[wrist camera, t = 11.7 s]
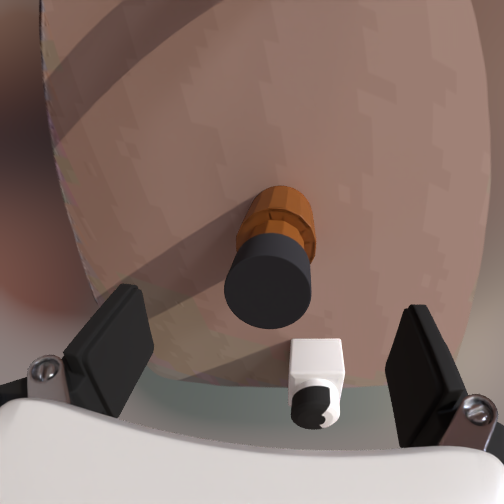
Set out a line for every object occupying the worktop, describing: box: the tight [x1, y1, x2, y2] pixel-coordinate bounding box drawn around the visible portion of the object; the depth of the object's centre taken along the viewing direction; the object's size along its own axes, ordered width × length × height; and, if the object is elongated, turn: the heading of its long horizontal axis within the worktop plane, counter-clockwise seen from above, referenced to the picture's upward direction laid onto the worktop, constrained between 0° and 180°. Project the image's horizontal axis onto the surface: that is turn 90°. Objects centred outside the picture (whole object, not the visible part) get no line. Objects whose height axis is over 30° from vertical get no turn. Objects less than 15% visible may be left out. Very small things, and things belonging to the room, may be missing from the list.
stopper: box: [224, 233, 311, 329], centre depth 25 cm, size 6×6×8 cm
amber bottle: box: [236, 186, 316, 264], centre depth 31 cm, size 7×7×13 cm
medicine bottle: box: [288, 339, 345, 429], centre depth 39 cm, size 7×7×12 cm
